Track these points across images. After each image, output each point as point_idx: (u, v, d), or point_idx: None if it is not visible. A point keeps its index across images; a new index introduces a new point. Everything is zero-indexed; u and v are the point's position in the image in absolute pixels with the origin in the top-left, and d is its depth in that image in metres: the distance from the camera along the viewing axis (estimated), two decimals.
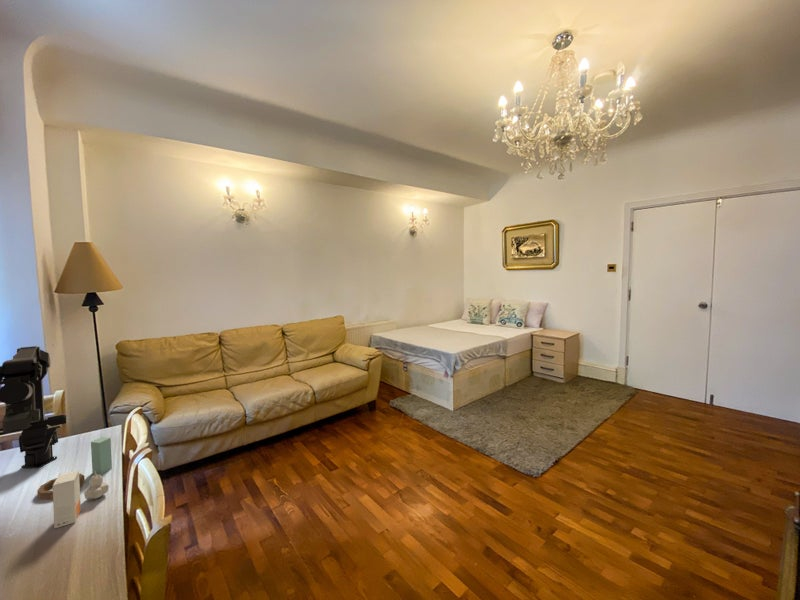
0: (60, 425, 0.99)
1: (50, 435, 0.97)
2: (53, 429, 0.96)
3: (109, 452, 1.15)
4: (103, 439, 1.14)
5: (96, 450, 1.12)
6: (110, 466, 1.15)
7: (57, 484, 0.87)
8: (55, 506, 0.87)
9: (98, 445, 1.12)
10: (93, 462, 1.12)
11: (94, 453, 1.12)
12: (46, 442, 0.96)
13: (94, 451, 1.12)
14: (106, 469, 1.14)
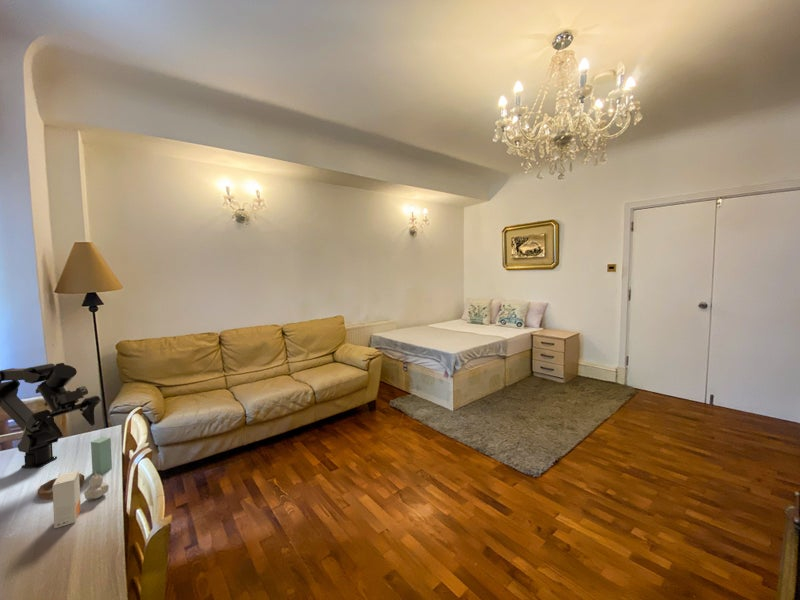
0: None
1: (92, 411, 1.19)
2: (94, 405, 1.20)
3: (109, 452, 1.15)
4: (103, 439, 1.14)
5: (96, 450, 1.12)
6: (110, 466, 1.15)
7: (57, 484, 0.87)
8: (55, 506, 0.87)
9: (98, 445, 1.12)
10: (93, 462, 1.12)
11: (94, 453, 1.12)
12: (92, 416, 1.18)
13: (94, 451, 1.12)
14: (106, 469, 1.14)
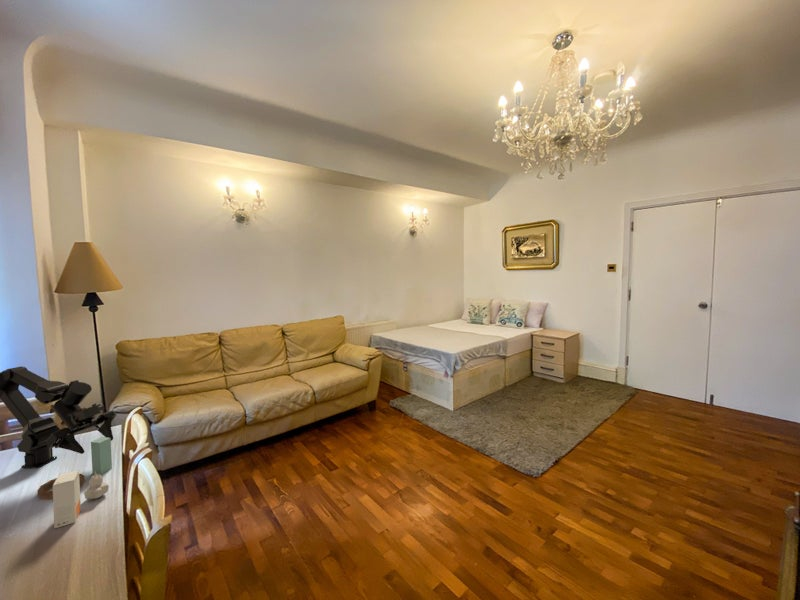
0: None
1: (109, 426, 1.20)
2: (110, 420, 1.20)
3: (109, 452, 1.15)
4: (103, 439, 1.14)
5: (96, 450, 1.12)
6: (110, 466, 1.15)
7: (57, 484, 0.87)
8: (55, 506, 0.87)
9: (98, 445, 1.12)
10: (93, 462, 1.12)
11: (94, 453, 1.12)
12: (109, 431, 1.19)
13: (94, 451, 1.12)
14: (106, 469, 1.14)
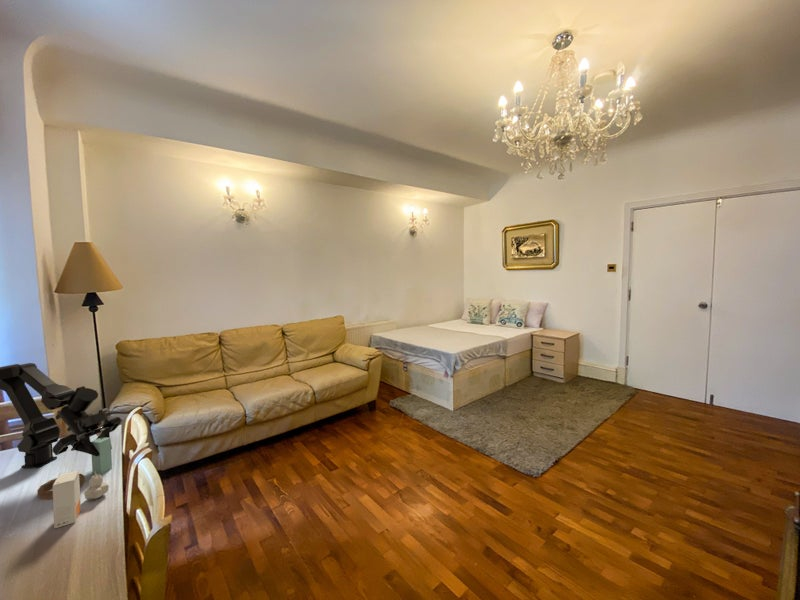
0: None
1: (108, 435, 1.17)
2: (109, 429, 1.17)
3: (109, 452, 1.15)
4: (103, 439, 1.14)
5: None
6: (110, 466, 1.15)
7: (57, 484, 0.87)
8: (55, 506, 0.87)
9: (98, 445, 1.12)
10: (93, 462, 1.12)
11: None
12: None
13: None
14: (106, 469, 1.14)
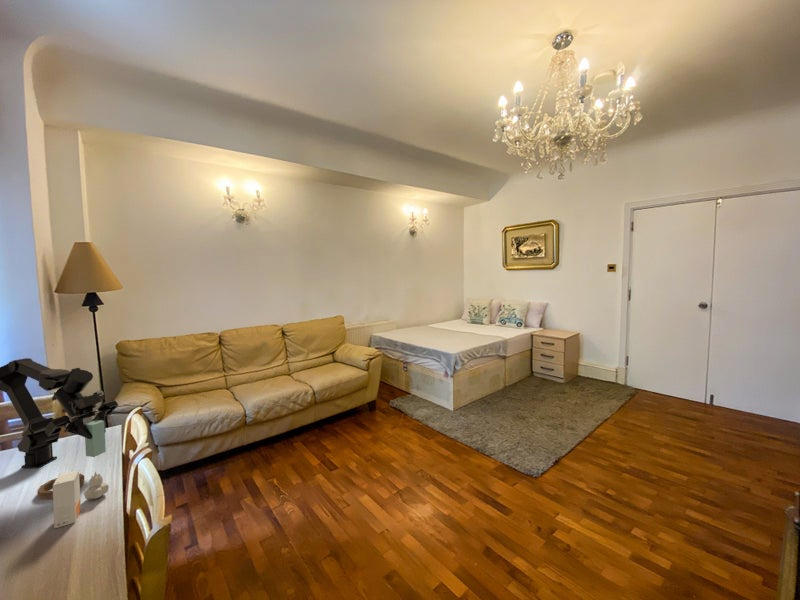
0: None
1: (103, 418, 1.15)
2: (104, 412, 1.15)
3: (103, 435, 1.12)
4: (97, 422, 1.12)
5: None
6: (104, 449, 1.13)
7: (57, 484, 0.87)
8: (55, 506, 0.87)
9: (91, 427, 1.09)
10: (86, 445, 1.10)
11: None
12: None
13: None
14: (99, 452, 1.12)
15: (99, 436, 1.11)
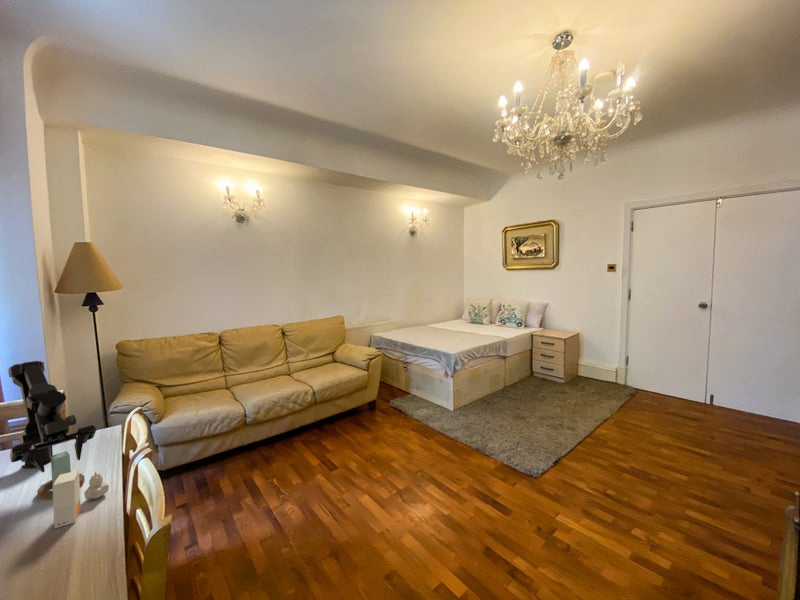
0: None
1: (81, 443, 1.08)
2: (84, 436, 1.09)
3: (68, 470, 1.04)
4: (62, 455, 1.03)
5: (52, 466, 1.02)
6: None
7: (57, 484, 0.87)
8: (55, 506, 0.87)
9: (53, 461, 1.01)
10: (52, 479, 1.03)
11: (52, 469, 1.02)
12: (79, 449, 1.07)
13: (52, 467, 1.02)
14: None
15: (63, 471, 1.03)
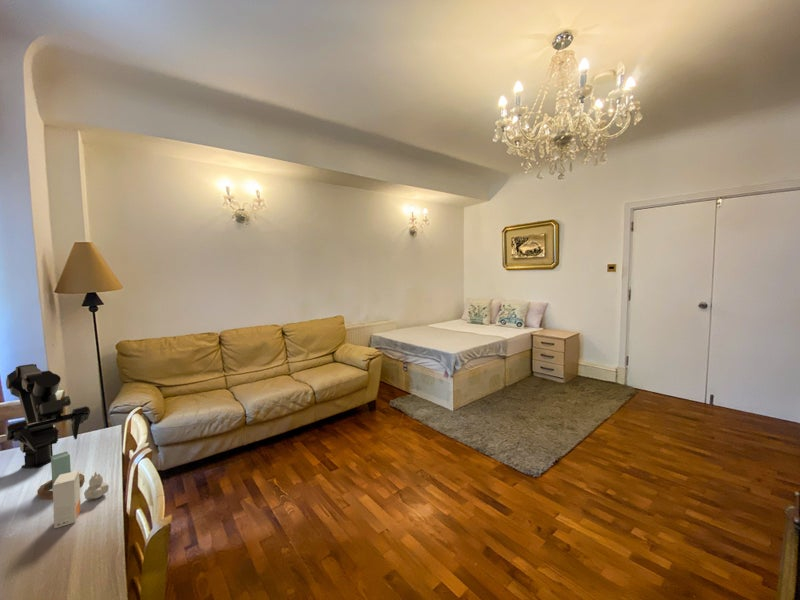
0: None
1: (78, 423, 1.11)
2: (80, 416, 1.12)
3: (68, 470, 1.04)
4: (62, 455, 1.03)
5: (52, 467, 1.02)
6: None
7: (57, 484, 0.87)
8: (55, 506, 0.87)
9: (53, 462, 1.01)
10: (52, 479, 1.03)
11: (52, 469, 1.02)
12: (76, 429, 1.10)
13: (52, 467, 1.02)
14: None
15: (63, 471, 1.03)
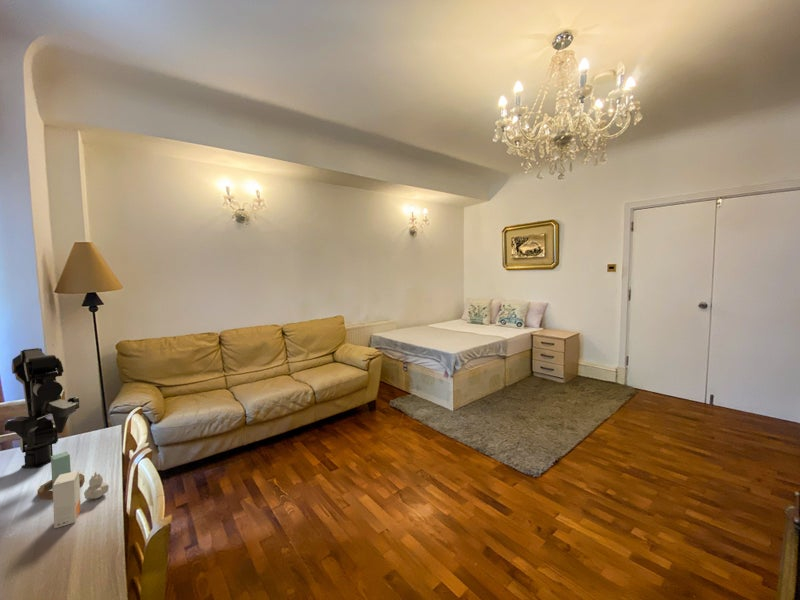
0: None
1: (67, 418, 1.15)
2: None
3: (68, 470, 1.04)
4: (62, 455, 1.03)
5: (52, 467, 1.02)
6: None
7: (57, 484, 0.87)
8: (55, 506, 0.87)
9: (53, 462, 1.01)
10: (52, 479, 1.03)
11: (52, 469, 1.02)
12: (64, 424, 1.15)
13: (52, 467, 1.02)
14: None
15: (63, 471, 1.03)
